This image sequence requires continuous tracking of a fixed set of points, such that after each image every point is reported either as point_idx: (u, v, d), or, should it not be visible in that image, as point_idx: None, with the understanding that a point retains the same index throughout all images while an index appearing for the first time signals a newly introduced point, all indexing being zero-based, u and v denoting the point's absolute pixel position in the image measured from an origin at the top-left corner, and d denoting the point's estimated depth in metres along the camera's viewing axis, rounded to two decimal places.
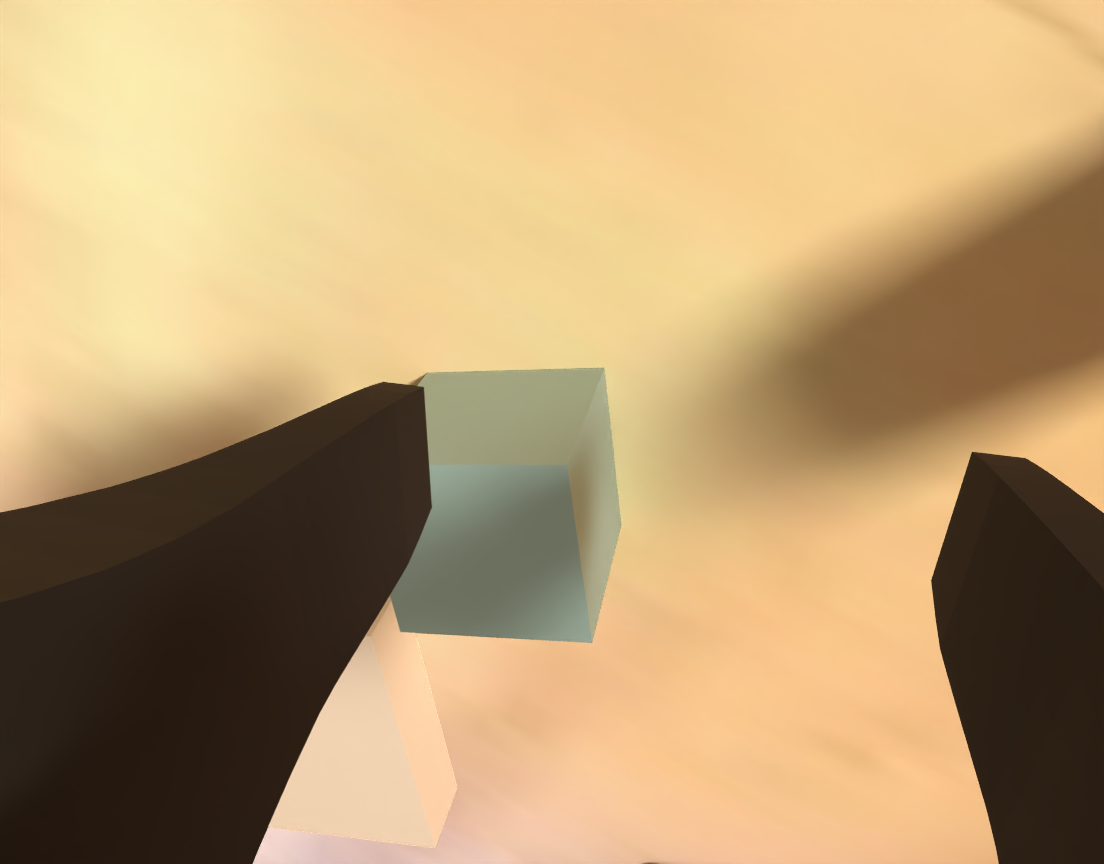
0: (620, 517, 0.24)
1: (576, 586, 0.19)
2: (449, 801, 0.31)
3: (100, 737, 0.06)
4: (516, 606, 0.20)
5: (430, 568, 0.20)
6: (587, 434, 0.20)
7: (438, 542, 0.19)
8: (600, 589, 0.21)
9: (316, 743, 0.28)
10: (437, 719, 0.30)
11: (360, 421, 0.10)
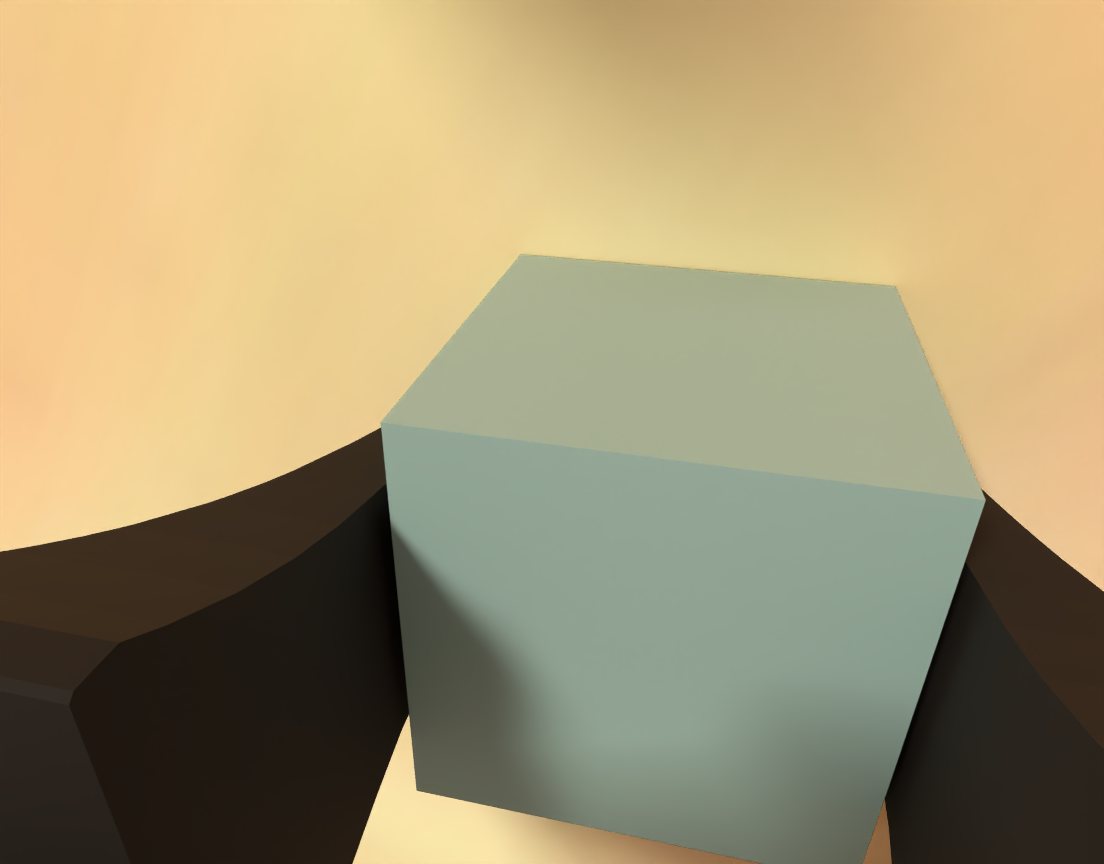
0: (876, 287, 0.11)
1: (757, 489, 0.07)
2: None
3: (228, 765, 0.06)
4: (809, 643, 0.07)
5: (672, 768, 0.09)
6: (500, 334, 0.09)
7: (600, 729, 0.09)
8: (900, 407, 0.08)
9: None
10: None
11: None
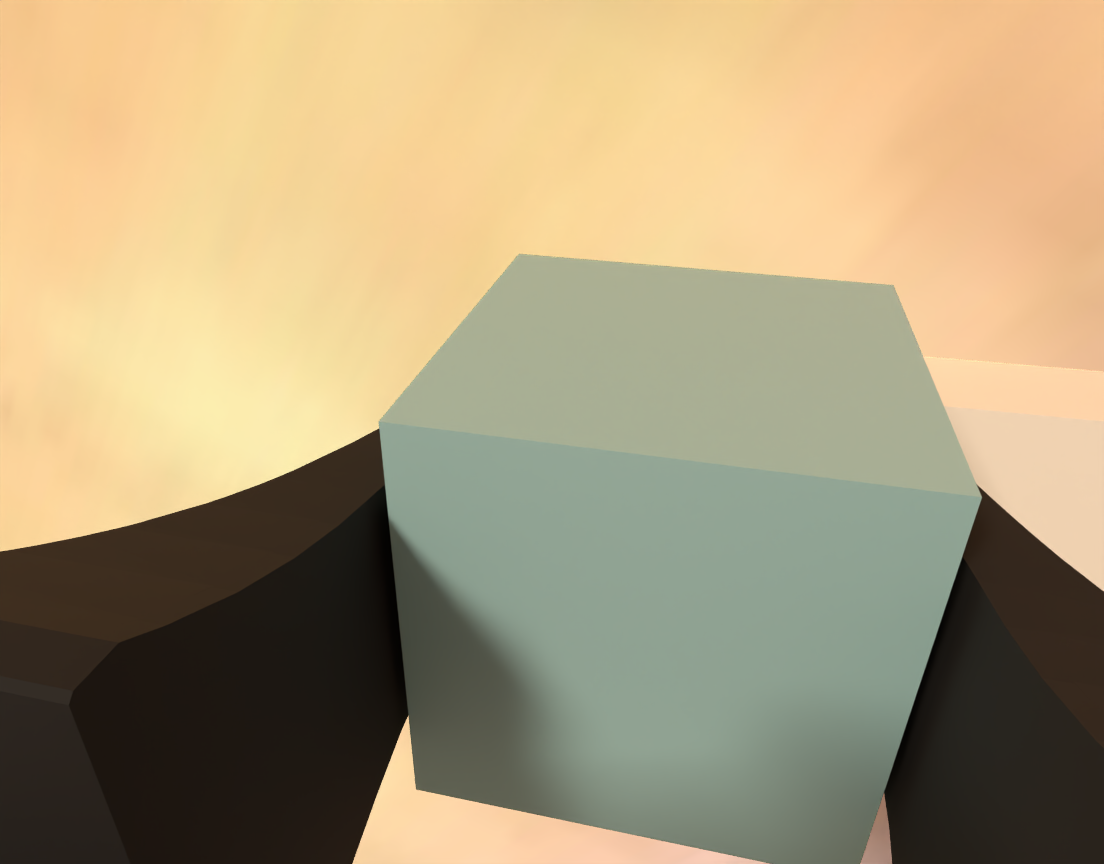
0: (874, 285, 0.11)
1: (754, 487, 0.07)
2: None
3: (228, 765, 0.06)
4: (807, 641, 0.07)
5: (671, 765, 0.09)
6: (498, 334, 0.09)
7: (599, 727, 0.09)
8: (897, 405, 0.08)
9: None
10: (1057, 369, 0.18)
11: None
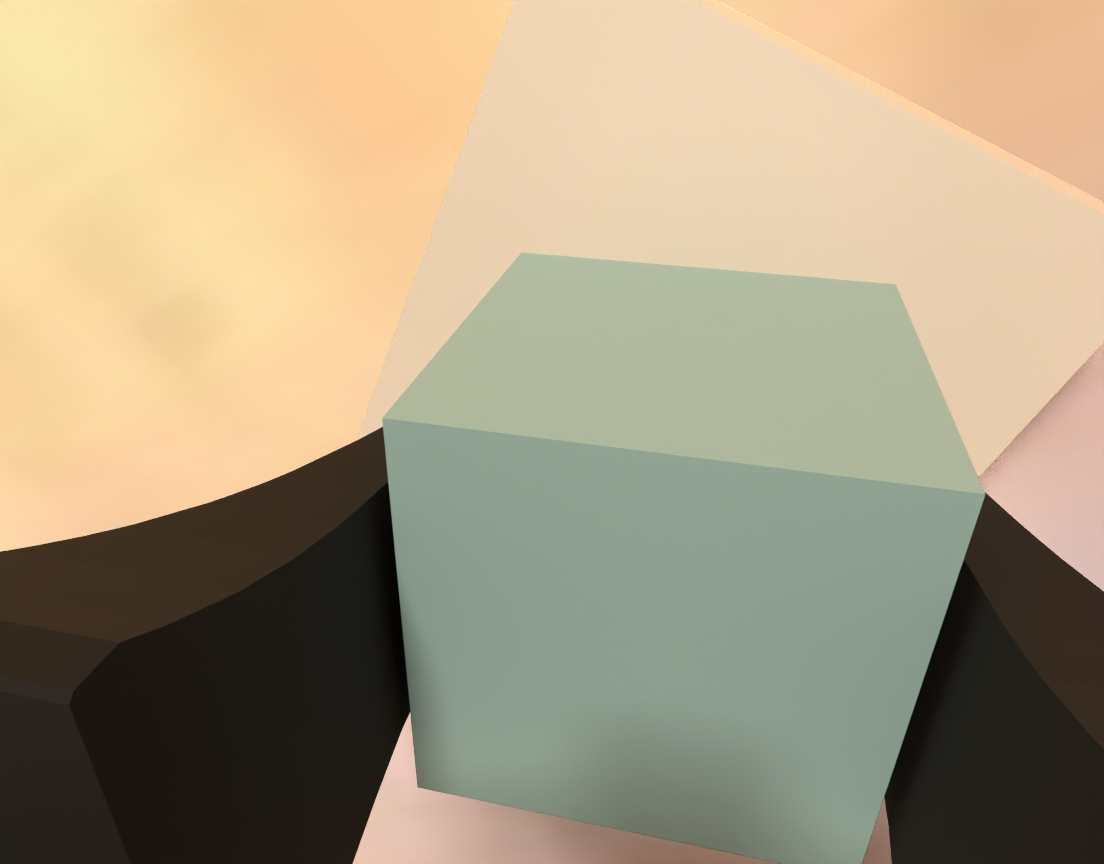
0: (876, 284, 0.11)
1: (757, 484, 0.07)
2: None
3: (228, 765, 0.06)
4: (810, 638, 0.07)
5: (673, 763, 0.09)
6: (500, 331, 0.09)
7: (600, 726, 0.09)
8: (900, 402, 0.08)
9: None
10: (917, 105, 0.13)
11: None
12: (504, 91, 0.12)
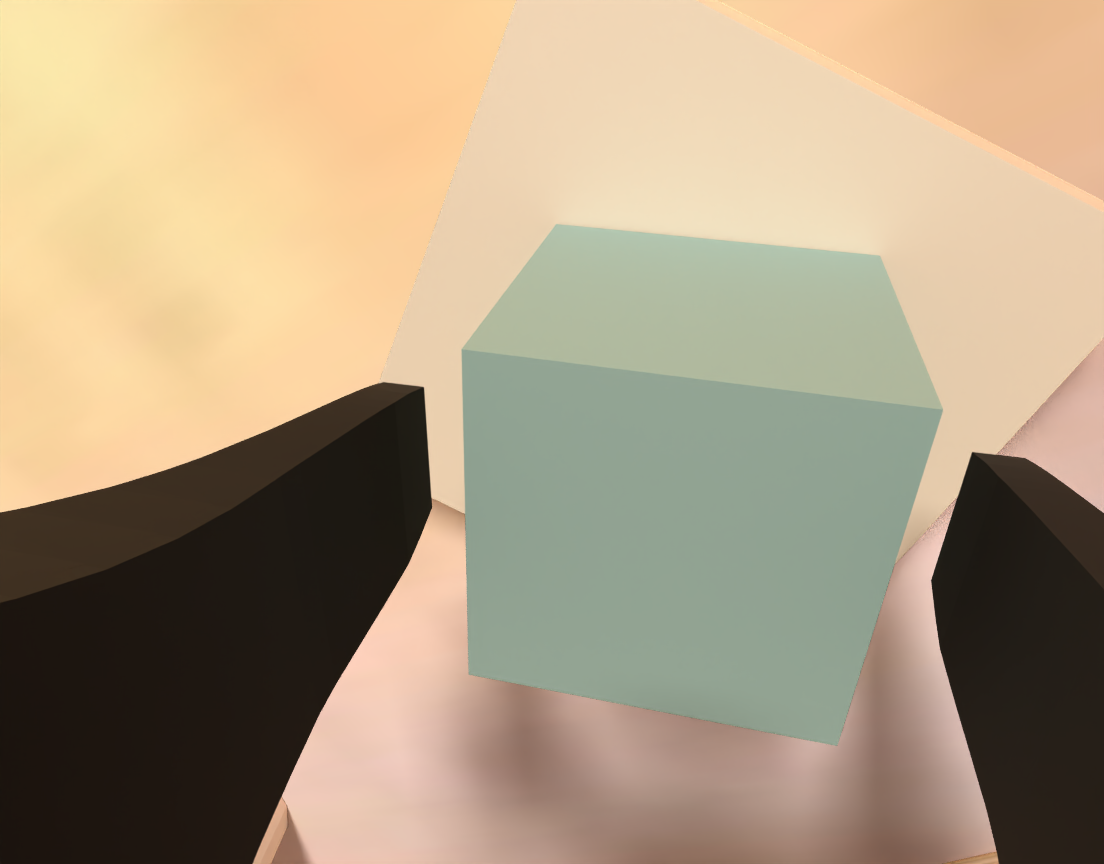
0: (863, 255, 0.12)
1: (764, 403, 0.09)
2: None
3: (100, 737, 0.06)
4: (803, 533, 0.09)
5: (687, 645, 0.10)
6: (547, 287, 0.11)
7: (629, 613, 0.10)
8: (880, 345, 0.09)
9: None
10: None
11: (360, 421, 0.10)
12: (506, 90, 0.12)
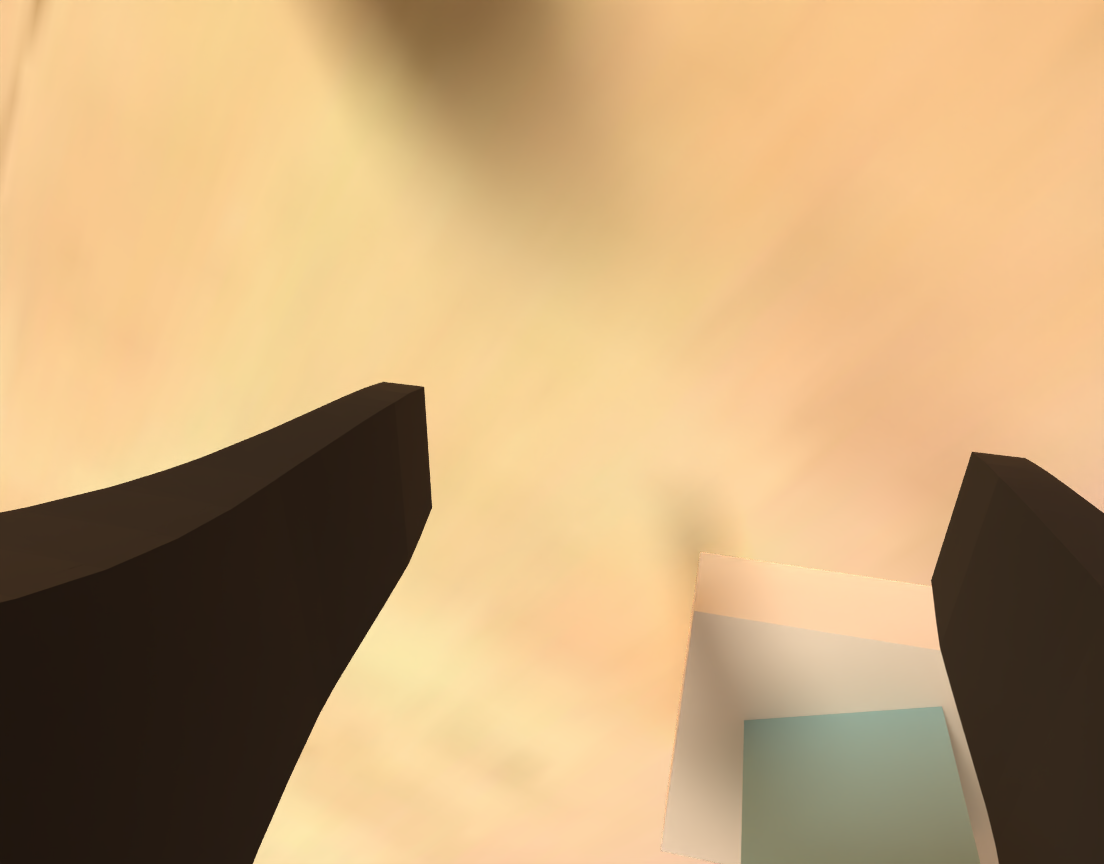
0: (932, 709, 0.21)
1: None
2: None
3: (100, 737, 0.06)
4: None
5: None
6: (762, 809, 0.20)
7: None
8: (951, 831, 0.18)
9: None
10: None
11: (360, 421, 0.10)
12: (697, 676, 0.22)
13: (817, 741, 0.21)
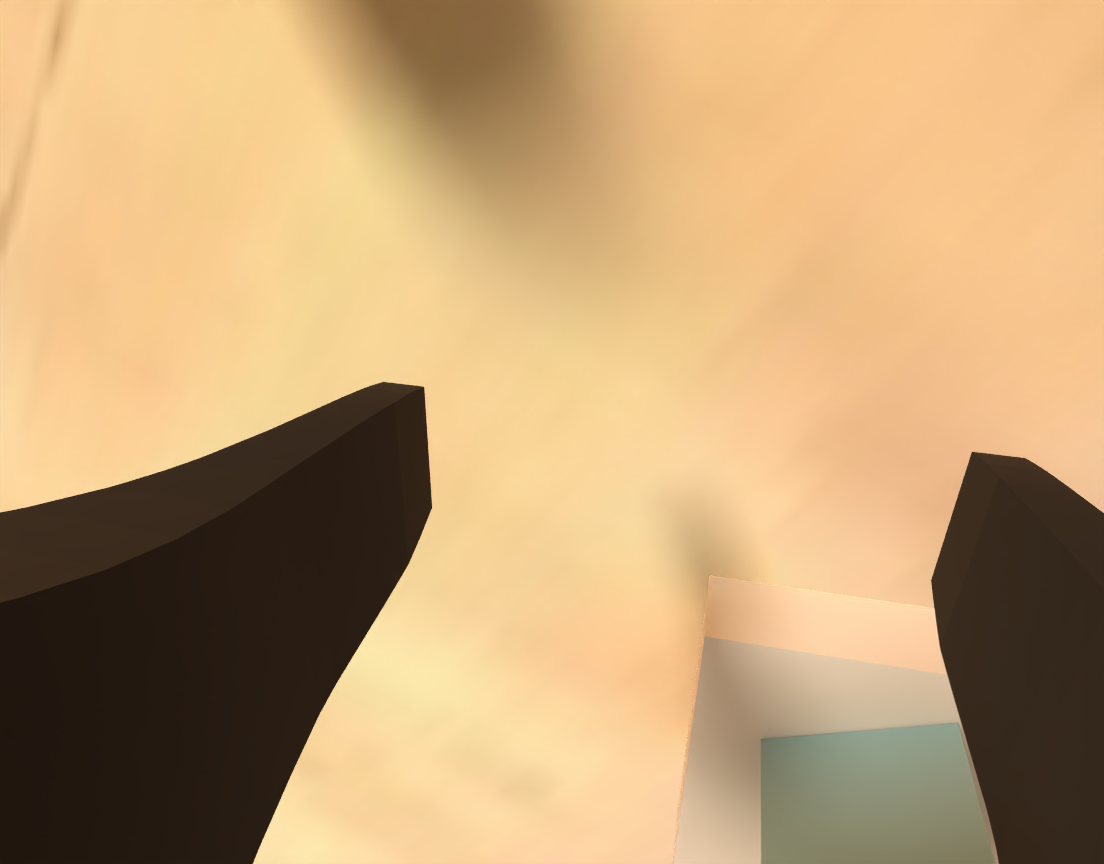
0: (948, 726, 0.21)
1: None
2: None
3: (100, 737, 0.06)
4: None
5: None
6: (780, 829, 0.20)
7: None
8: (970, 850, 0.18)
9: None
10: None
11: (360, 421, 0.10)
12: (708, 699, 0.22)
13: (834, 759, 0.21)
